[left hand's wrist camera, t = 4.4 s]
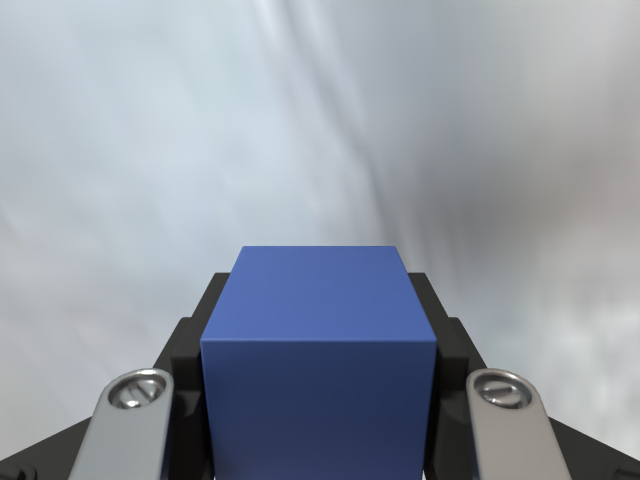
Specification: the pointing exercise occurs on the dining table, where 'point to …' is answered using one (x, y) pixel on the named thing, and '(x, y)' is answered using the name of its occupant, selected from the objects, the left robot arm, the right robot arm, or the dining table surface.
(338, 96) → the dining table surface
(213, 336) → the brick
